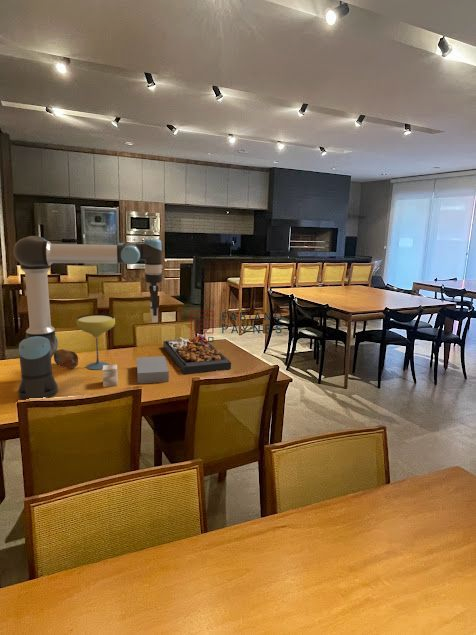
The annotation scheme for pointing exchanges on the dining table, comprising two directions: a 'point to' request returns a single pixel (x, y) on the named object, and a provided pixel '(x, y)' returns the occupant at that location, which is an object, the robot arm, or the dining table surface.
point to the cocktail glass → (96, 331)
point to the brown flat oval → (66, 358)
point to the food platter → (196, 355)
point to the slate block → (152, 369)
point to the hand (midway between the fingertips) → (154, 318)
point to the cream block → (110, 375)
